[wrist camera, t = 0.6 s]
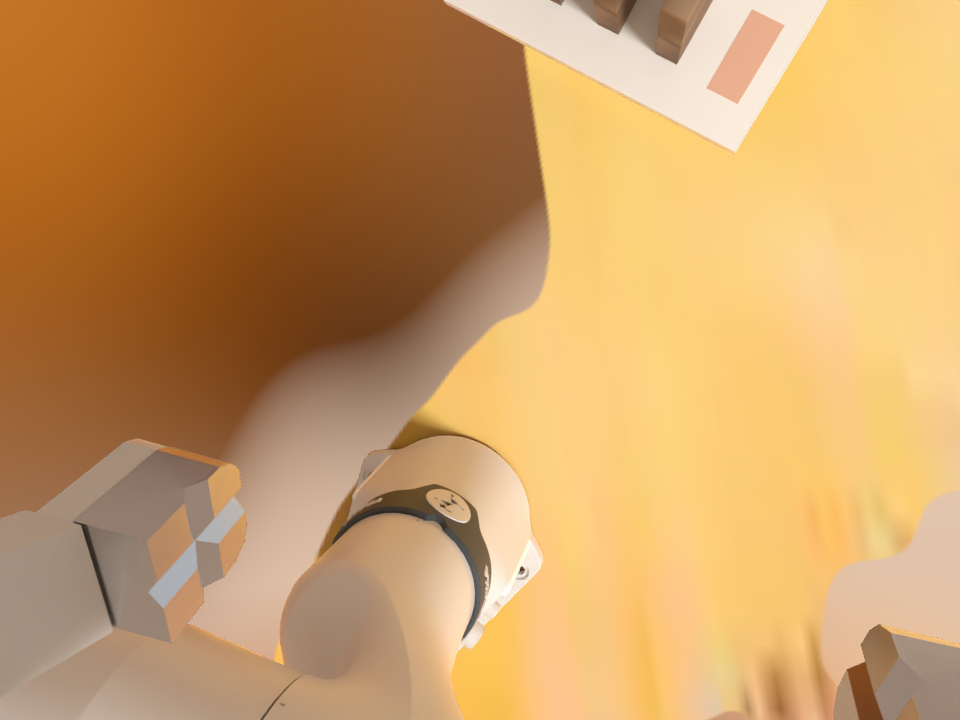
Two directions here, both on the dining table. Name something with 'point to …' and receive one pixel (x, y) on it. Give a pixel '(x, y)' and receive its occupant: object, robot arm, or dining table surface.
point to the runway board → (654, 80)
